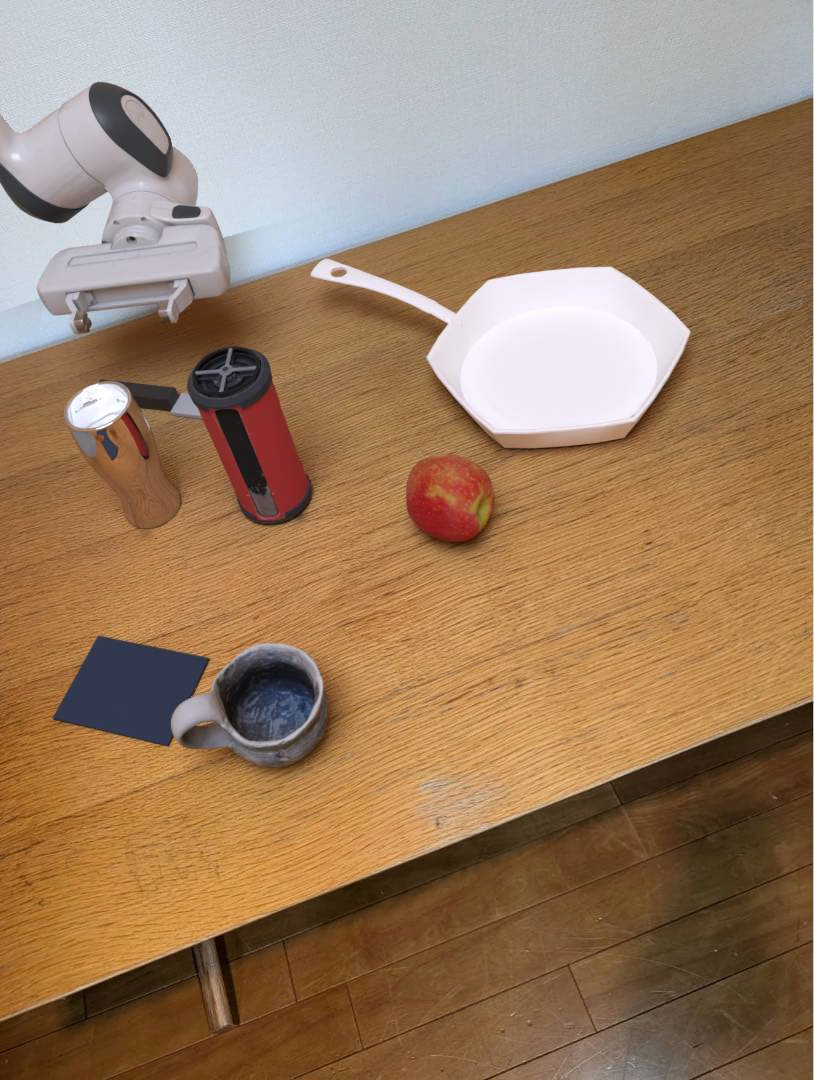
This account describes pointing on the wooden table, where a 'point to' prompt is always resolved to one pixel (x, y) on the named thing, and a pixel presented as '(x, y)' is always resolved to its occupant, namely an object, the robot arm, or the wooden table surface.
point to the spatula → (162, 399)
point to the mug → (259, 707)
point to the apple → (449, 497)
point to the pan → (548, 352)
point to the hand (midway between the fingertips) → (122, 323)
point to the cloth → (131, 689)
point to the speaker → (250, 433)
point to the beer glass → (122, 451)
